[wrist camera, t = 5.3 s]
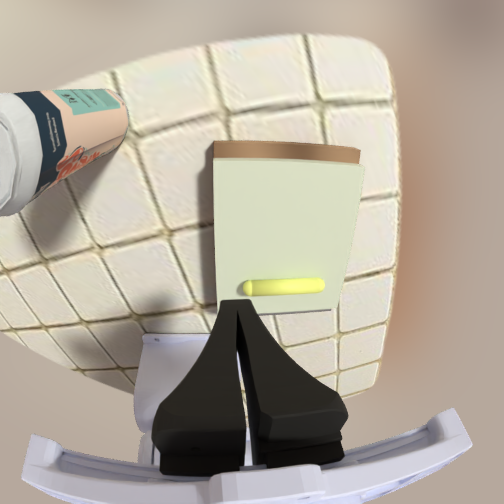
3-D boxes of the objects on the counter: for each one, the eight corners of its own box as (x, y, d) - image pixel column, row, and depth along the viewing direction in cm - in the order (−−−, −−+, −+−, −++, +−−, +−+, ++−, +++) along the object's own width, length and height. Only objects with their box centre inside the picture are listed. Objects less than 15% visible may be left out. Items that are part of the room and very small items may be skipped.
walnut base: (218, 307, 25) (218, 315, 24) (214, 140, 18) (213, 142, 17) (327, 301, 26) (330, 308, 25) (354, 147, 19) (360, 150, 18)
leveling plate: (217, 311, 24) (218, 329, 22) (213, 158, 18) (212, 165, 16) (332, 305, 25) (340, 321, 23) (358, 163, 19) (373, 171, 17)
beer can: (69, 153, 17) (-45, 222, 7) (74, 89, 15) (-53, 105, 4) (127, 156, 18) (31, 233, 7) (135, 89, 16) (29, 86, 5)
